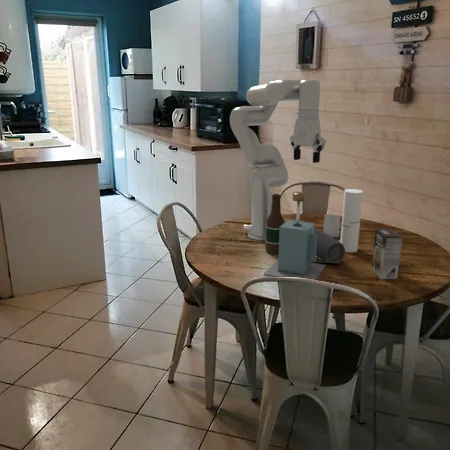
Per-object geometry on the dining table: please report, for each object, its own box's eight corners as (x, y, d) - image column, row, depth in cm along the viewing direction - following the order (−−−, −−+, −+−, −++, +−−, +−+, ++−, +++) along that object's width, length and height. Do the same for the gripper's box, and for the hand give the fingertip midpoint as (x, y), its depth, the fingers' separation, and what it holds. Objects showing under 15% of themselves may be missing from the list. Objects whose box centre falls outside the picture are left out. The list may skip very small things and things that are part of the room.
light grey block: (338, 237, 207) (340, 216, 205) (323, 236, 209) (324, 215, 206) (338, 234, 211) (339, 213, 208) (323, 234, 212) (324, 213, 209)
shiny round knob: (284, 238, 165) (286, 194, 160) (290, 232, 171) (292, 190, 166) (303, 241, 162) (306, 196, 157) (309, 235, 168) (312, 192, 163)
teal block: (263, 274, 166) (265, 228, 161) (280, 258, 182) (281, 215, 177) (312, 284, 159) (315, 235, 154) (325, 266, 174) (328, 221, 169)
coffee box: (370, 269, 171) (374, 228, 167) (387, 269, 172) (391, 227, 167) (380, 279, 163) (385, 236, 158) (398, 279, 163) (403, 235, 158)
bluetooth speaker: (295, 248, 194) (296, 225, 191) (314, 245, 197) (316, 223, 194) (324, 267, 173) (326, 242, 170) (345, 264, 176) (347, 239, 173)
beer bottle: (271, 255, 185) (273, 197, 178) (261, 249, 191) (262, 193, 184) (287, 252, 188) (290, 195, 181) (276, 247, 195) (279, 191, 188)
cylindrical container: (357, 252, 188) (363, 193, 181) (340, 251, 190) (344, 192, 182) (356, 247, 195) (362, 189, 188) (339, 245, 196) (344, 188, 189)
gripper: (284, 114, 175) (283, 159, 179) (319, 116, 161) (317, 164, 166) (298, 113, 179) (296, 157, 184) (333, 115, 166) (330, 162, 171)
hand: (306, 161), depth 175 cm, fingers open, 9 cm apart
